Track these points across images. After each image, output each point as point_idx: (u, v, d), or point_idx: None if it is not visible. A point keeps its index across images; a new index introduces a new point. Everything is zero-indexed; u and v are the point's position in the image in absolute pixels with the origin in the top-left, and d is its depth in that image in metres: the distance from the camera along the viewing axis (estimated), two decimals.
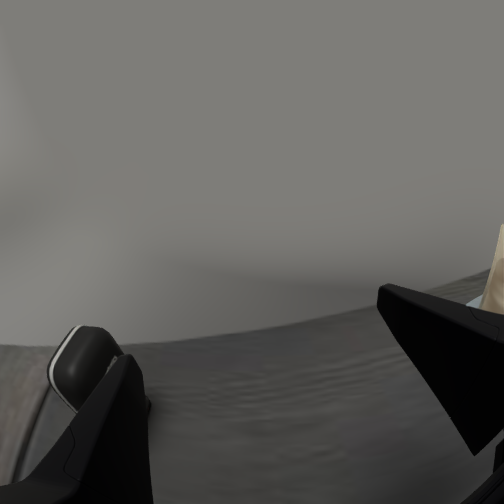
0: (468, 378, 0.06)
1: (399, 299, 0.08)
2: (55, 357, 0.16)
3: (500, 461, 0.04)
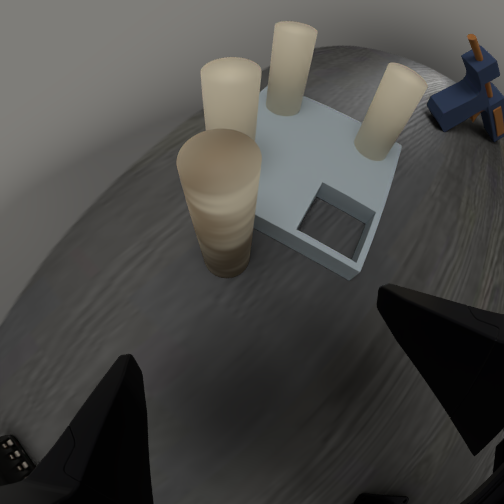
0: (468, 378, 0.06)
1: (399, 299, 0.08)
2: None
3: (500, 461, 0.04)
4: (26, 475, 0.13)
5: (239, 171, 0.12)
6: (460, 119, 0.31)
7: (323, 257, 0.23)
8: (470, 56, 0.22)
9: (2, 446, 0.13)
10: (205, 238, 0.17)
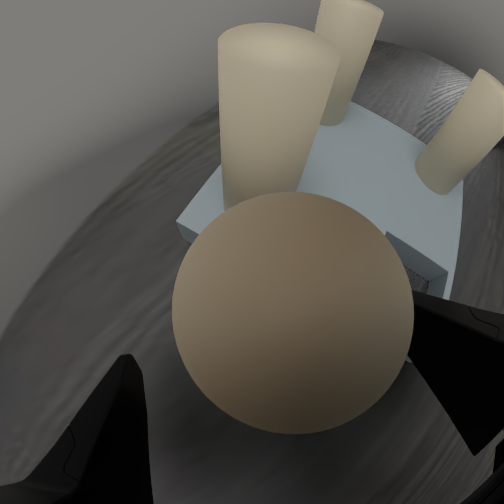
0: (468, 378, 0.06)
1: None
2: None
3: (500, 461, 0.04)
4: None
5: (368, 354, 0.04)
6: None
7: None
8: None
9: None
10: None
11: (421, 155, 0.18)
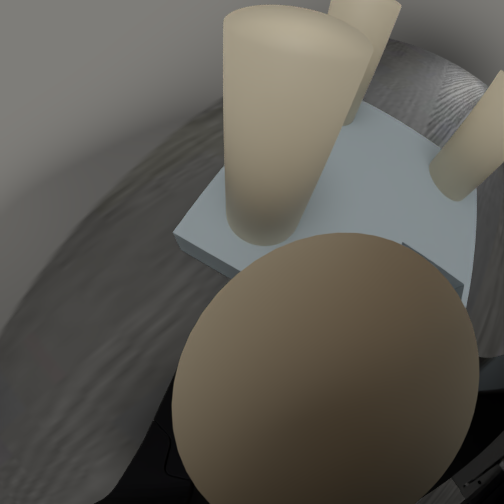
0: None
1: None
2: None
3: None
4: None
5: (429, 446, 0.02)
6: None
7: None
8: None
9: None
10: None
11: (436, 159, 0.17)
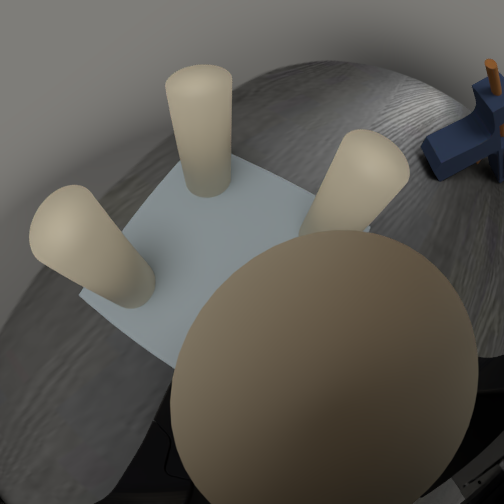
0: None
1: None
2: None
3: None
4: None
5: (428, 444, 0.02)
6: (462, 166, 0.26)
7: None
8: (484, 88, 0.17)
9: None
10: None
11: (303, 222, 0.22)
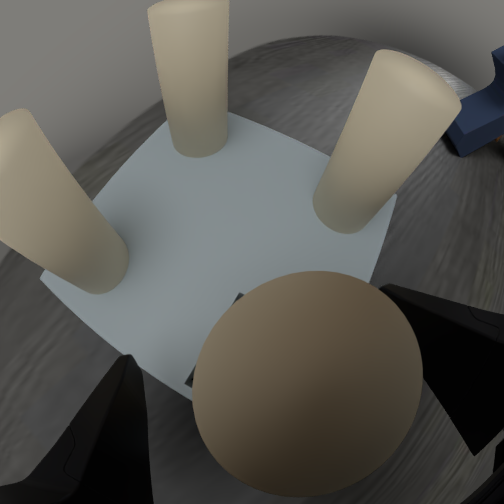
0: (468, 378, 0.06)
1: (399, 299, 0.08)
2: None
3: (500, 461, 0.04)
4: None
5: (377, 429, 0.04)
6: (484, 141, 0.21)
7: None
8: None
9: None
10: None
11: (318, 183, 0.17)
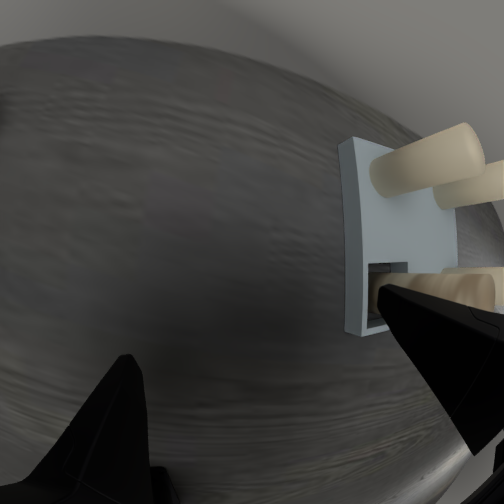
0: (468, 378, 0.06)
1: (399, 299, 0.08)
2: None
3: (500, 461, 0.04)
4: None
5: None
6: None
7: (355, 299, 0.23)
8: None
9: None
10: None
11: (452, 267, 0.26)
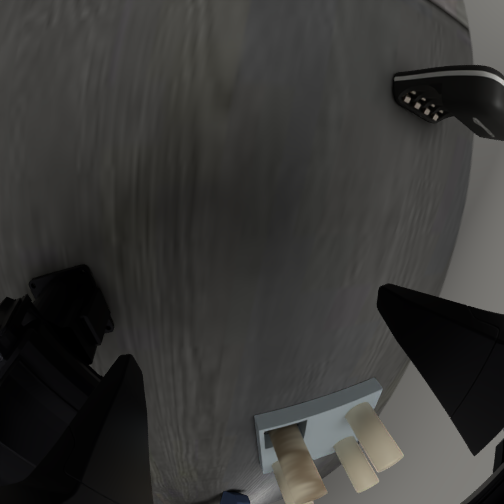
0: (468, 378, 0.06)
1: (399, 299, 0.08)
2: None
3: (500, 461, 0.04)
4: (413, 94, 0.18)
5: (301, 501, 0.21)
6: None
7: (281, 418, 0.31)
8: None
9: (443, 110, 0.19)
10: (298, 459, 0.26)
11: None
